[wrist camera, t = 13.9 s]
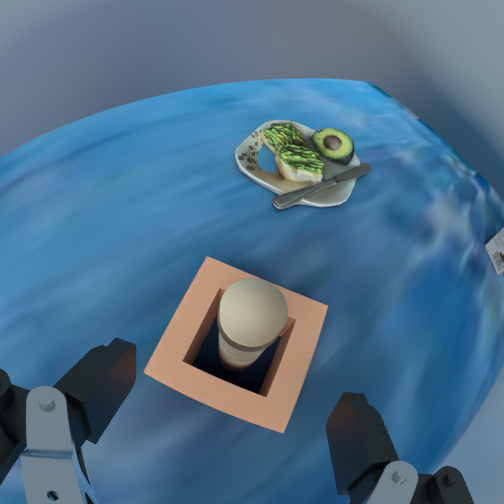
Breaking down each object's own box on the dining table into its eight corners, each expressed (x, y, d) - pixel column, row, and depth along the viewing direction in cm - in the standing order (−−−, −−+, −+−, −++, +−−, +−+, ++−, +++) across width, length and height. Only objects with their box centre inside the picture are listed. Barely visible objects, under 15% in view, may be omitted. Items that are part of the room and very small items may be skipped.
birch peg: (211, 363, 21) (204, 325, 11) (226, 331, 23) (235, 265, 13) (246, 379, 21) (275, 355, 11) (260, 346, 22) (298, 292, 12)
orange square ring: (158, 379, 20) (143, 372, 16) (208, 283, 25) (207, 256, 21) (269, 427, 19) (283, 433, 14) (308, 324, 24) (328, 305, 20)
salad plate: (335, 251, 29) (352, 226, 25) (203, 181, 32) (203, 152, 28) (370, 167, 39) (381, 145, 35) (273, 121, 42) (278, 98, 38)
